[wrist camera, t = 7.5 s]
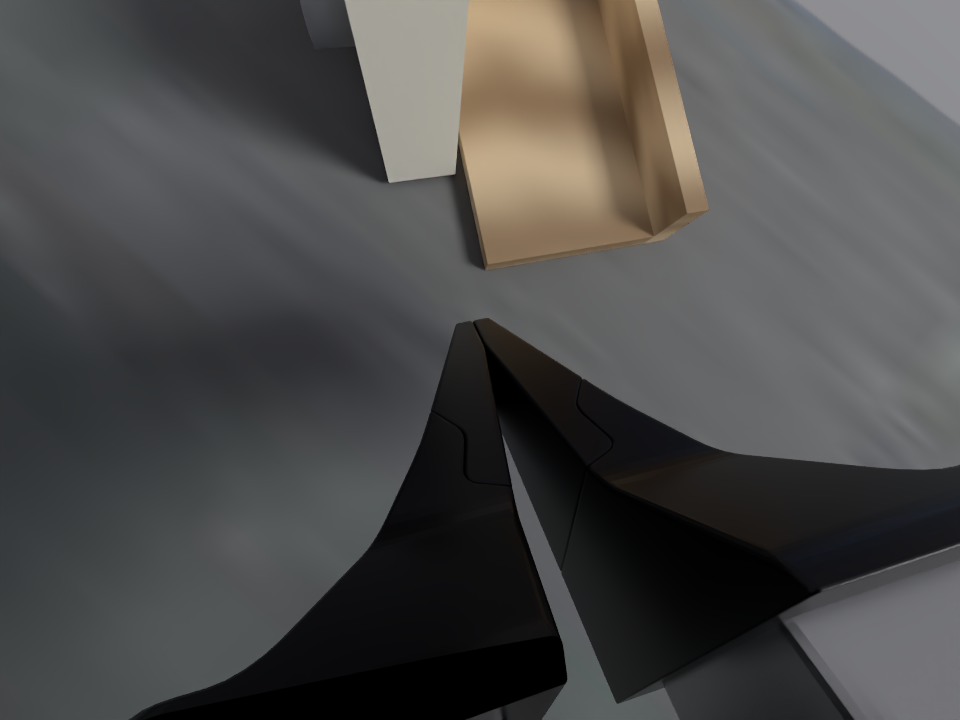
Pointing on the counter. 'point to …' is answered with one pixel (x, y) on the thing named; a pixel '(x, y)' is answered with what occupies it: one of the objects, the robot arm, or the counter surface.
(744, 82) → the counter surface
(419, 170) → the door panel
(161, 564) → the counter surface
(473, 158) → the cabinet corner
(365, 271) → the counter surface
